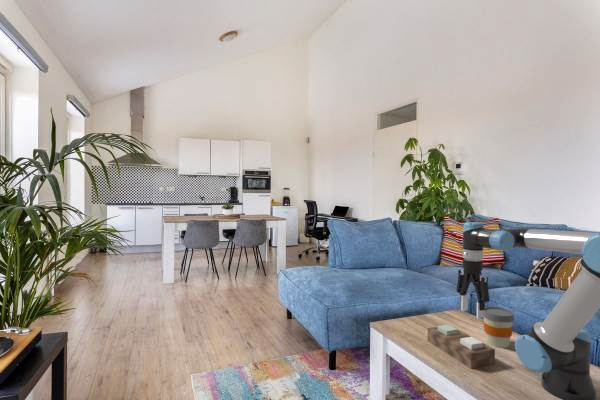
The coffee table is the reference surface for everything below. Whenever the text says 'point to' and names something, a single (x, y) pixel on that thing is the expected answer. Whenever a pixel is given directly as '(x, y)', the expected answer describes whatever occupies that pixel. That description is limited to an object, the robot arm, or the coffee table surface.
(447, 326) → the sage key
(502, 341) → the reusable coffee cup
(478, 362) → the key panel
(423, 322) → the coffee table surface
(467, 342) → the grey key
